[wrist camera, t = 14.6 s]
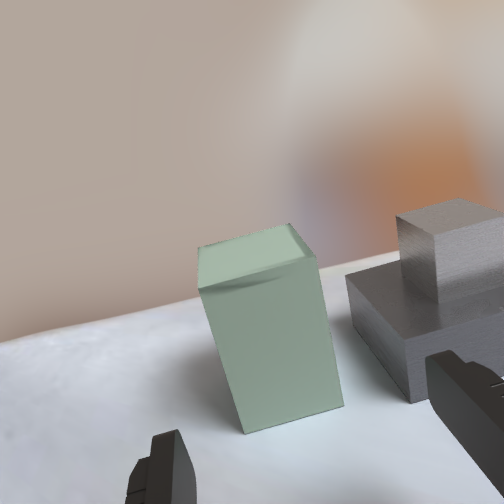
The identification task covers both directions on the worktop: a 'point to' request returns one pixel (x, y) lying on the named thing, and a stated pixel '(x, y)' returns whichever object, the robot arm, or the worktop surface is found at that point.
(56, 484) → the worktop surface
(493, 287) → the grey step block
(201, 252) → the tall mint pillar
